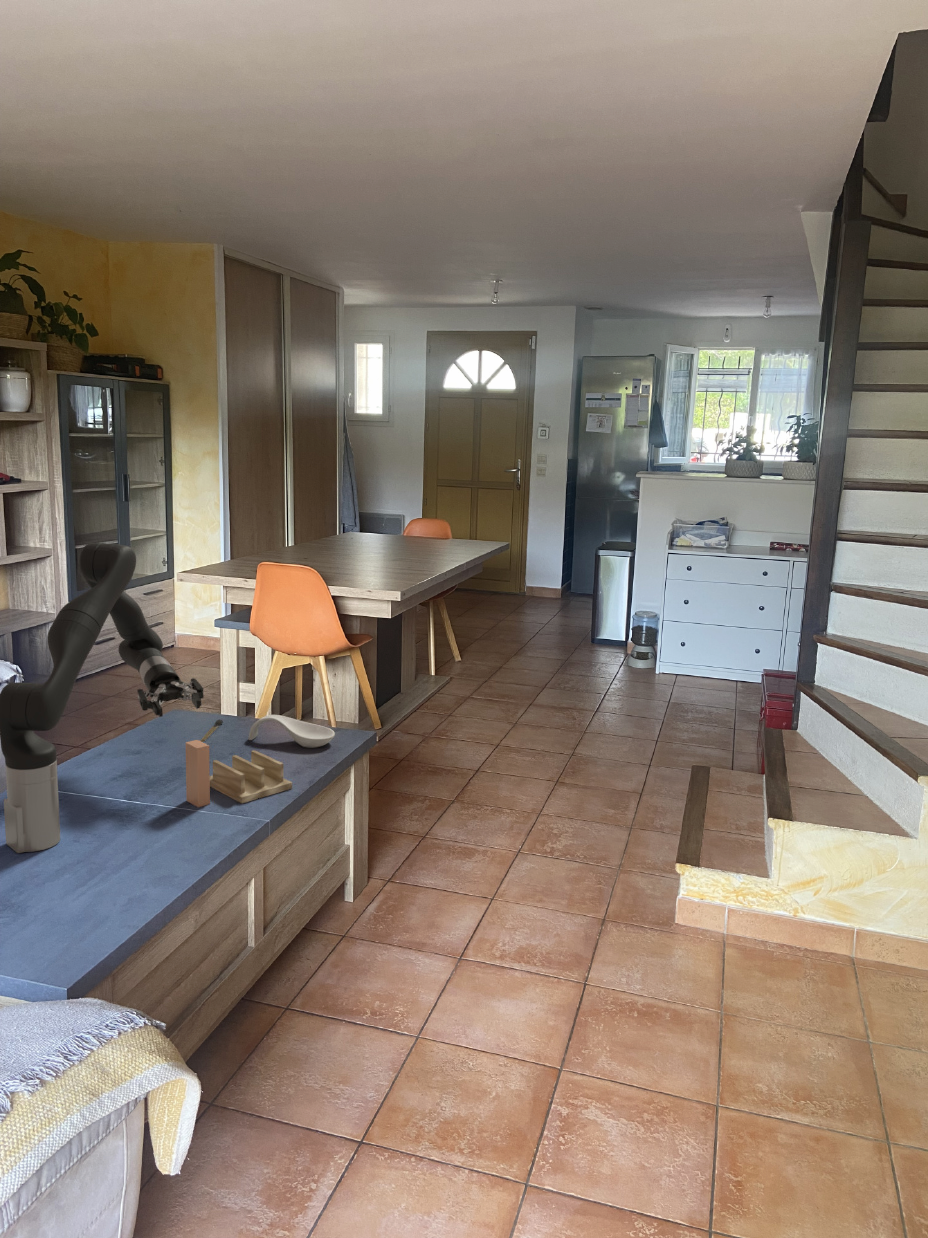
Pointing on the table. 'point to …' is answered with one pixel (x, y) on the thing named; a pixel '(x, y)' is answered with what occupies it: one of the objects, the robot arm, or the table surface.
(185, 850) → the table surface
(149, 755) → the table surface
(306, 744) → the spoon rest
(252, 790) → the wooden slotted stand
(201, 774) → the clay slat
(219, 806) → the table surface
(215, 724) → the tactical tomahawk
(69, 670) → the robot arm
